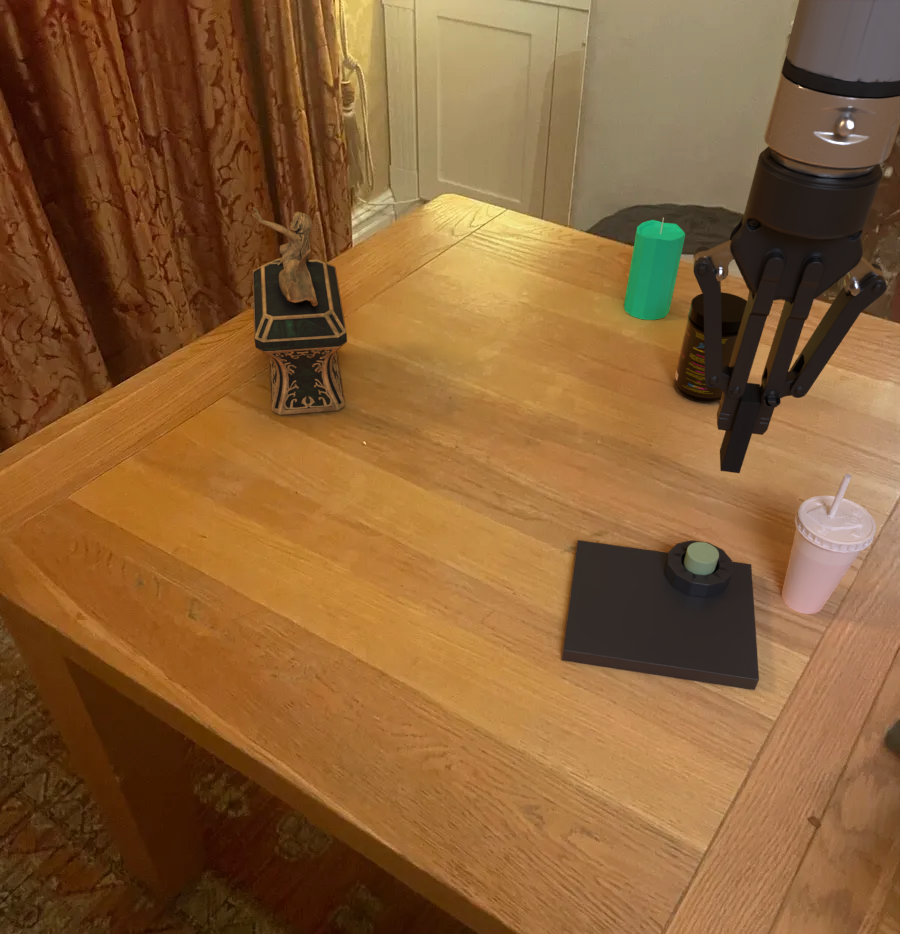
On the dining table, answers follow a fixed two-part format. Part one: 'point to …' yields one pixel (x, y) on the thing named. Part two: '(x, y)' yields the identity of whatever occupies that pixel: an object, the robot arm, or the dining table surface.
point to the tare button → (701, 558)
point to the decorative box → (299, 324)
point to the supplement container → (692, 350)
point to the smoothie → (824, 548)
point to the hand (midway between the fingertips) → (729, 461)
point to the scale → (662, 615)
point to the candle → (653, 269)
